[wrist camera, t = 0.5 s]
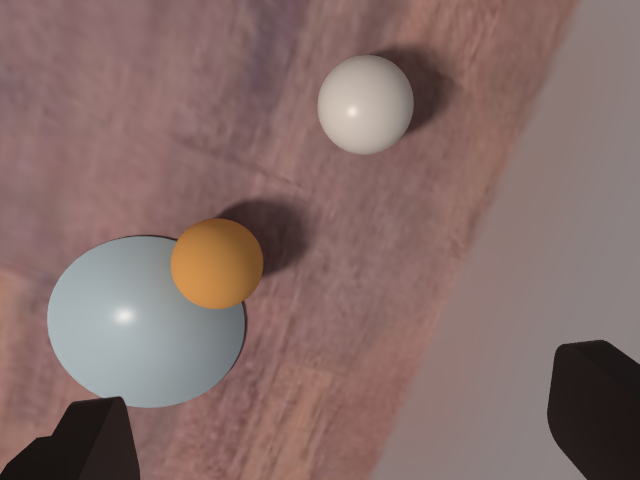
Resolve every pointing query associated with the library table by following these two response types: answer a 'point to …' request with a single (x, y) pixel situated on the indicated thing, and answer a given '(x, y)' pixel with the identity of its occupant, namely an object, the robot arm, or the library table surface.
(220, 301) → the object ball
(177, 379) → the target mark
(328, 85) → the cue ball
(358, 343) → the library table surface
